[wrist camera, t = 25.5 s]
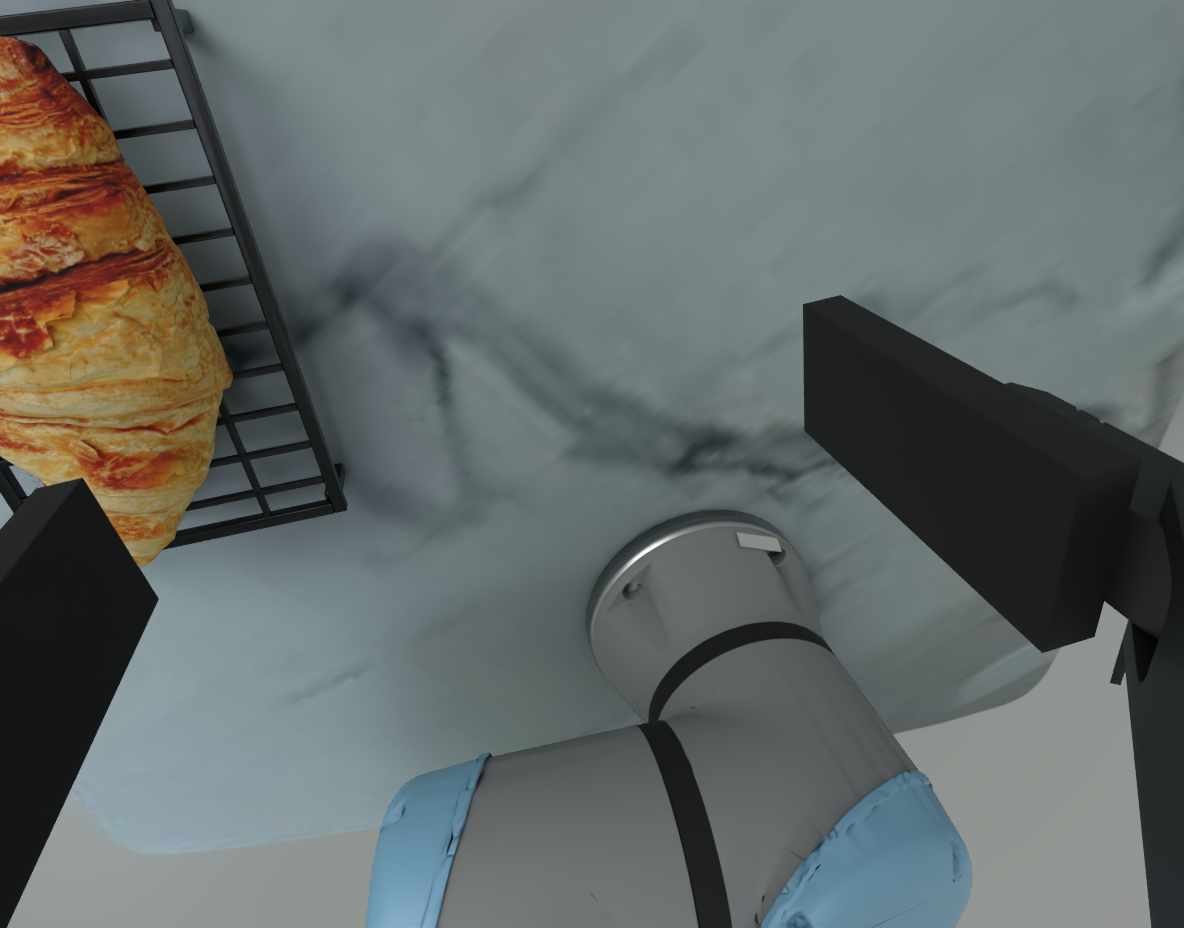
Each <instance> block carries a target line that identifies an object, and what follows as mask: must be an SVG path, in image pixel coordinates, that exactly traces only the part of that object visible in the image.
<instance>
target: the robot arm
mask: <svg viewBox="0 0 1184 928" xmlns="http://www.w3.org/2000/svg"><path fill="white" fill-rule="evenodd" d="M803 342H804V430H805V432H806V433H808V434H809V435H810V436H811V437H812V438H813V439H814V440H815V441H816V442H817V443H818V444H819V445H820V446H821V447H823V448H824V449H825V450H826V451H827V452H828V453H829V454H830V455H831V456H832V457H833V458H834V459H835V460H836V461H837V462H839V463H840V464H841V465H842V466H843V467H844V468H845V469H846V470H847V471H848V472H849V473H850V474H851V475H852V476H854V477H855V478H856V479H857V480H858V481H859V482H860V483H861V484H862V485H863V486H864V487H865V488H866V489H867V490H869V491H870V492H871V493H872V494H873V495H874V496H875V497H876V498H877V499H878V500H879V501H880V502H881V503H882V504H883V505H885V506H886V507H887V508H888V509H889V510H890V511H891V512H892V513H893V514H894V515H895V516H896V517H897V518H898V519H900V520H901V521H902V522H903V523H904V524H905V525H906V526H907V527H908V528H909V529H910V530H911V531H912V532H913V533H915V534H916V535H917V536H918V537H919V538H920V539H921V540H922V541H923V542H924V543H925V544H926V545H927V546H928V547H929V548H931V549H932V550H933V551H934V552H935V553H936V554H937V555H938V556H939V557H940V558H941V559H942V560H943V561H944V562H946V563H947V564H948V565H949V566H950V567H951V568H952V569H953V570H954V571H955V572H956V573H957V574H958V575H959V576H961V577H962V578H963V579H964V580H965V581H966V582H967V583H968V584H969V585H970V586H971V587H972V588H973V589H974V590H976V591H977V592H978V593H979V594H980V595H981V596H982V597H983V598H984V599H985V600H986V601H987V602H988V603H989V604H990V605H992V606H993V607H994V608H995V609H996V610H997V611H998V612H999V613H1000V614H1001V615H1002V616H1003V617H1004V618H1005V619H1007V620H1008V621H1009V622H1010V623H1011V624H1012V625H1013V626H1014V627H1015V628H1016V629H1017V630H1018V631H1019V632H1020V633H1022V634H1023V635H1024V636H1025V637H1026V638H1027V639H1028V640H1029V641H1030V642H1031V643H1032V644H1033V645H1034V646H1035V647H1036V648H1038V649H1039V650H1040V651H1041V652H1042V653H1044V652H1047V651H1050V650H1053V649H1057V648H1060V647H1063V646H1066V645H1070V644H1073V643H1076V642H1079V641H1083V640H1086V639H1089V638H1092V637H1095V633H1096V629H1097V625H1098V622H1099V618H1100V614H1101V611H1102V607H1103V603H1104V601H1106V602H1107V603H1108V604H1109V605H1110V606H1112V607H1113V608H1114V609H1116V610H1117V611H1118V612H1120V613H1121V614H1122V615H1123V616H1125V617H1126V618H1127V619H1129V620H1128V624H1127V627H1126V630H1125V634H1124V637H1123V640H1122V644H1121V647H1120V650H1119V654H1118V657H1117V660H1116V664H1115V667H1114V670H1113V674H1112V678H1111V681H1110V683H1113V684H1118V685H1121V682H1122V678H1123V676H1124V673H1126V680H1127V690H1128V700H1129V709H1130V720H1131V729H1132V740H1133V749H1134V760H1135V769H1136V779H1137V789H1138V799H1139V809H1140V819H1141V829H1142V838H1143V848H1144V857H1145V868H1146V878H1147V887H1148V898H1149V908H1150V917H1151V928H1184V463H1183V462H1181V461H1179V460H1177V459H1175V458H1173V457H1171V456H1169V455H1167V454H1166V453H1164V452H1162V451H1160V450H1158V449H1156V448H1154V447H1152V446H1150V445H1148V444H1146V443H1144V442H1142V441H1141V440H1139V439H1137V438H1135V437H1133V436H1131V435H1129V434H1127V433H1125V432H1123V431H1121V430H1119V429H1117V428H1115V427H1114V426H1112V425H1110V424H1108V423H1106V422H1105V423H1100V421H1099V419H1098V418H1096V417H1094V416H1092V415H1090V414H1089V413H1087V412H1085V411H1083V410H1079V411H1077V410H1076V407H1075V406H1073V405H1071V404H1069V403H1067V402H1065V401H1064V400H1062V399H1060V398H1058V397H1056V396H1054V395H1052V394H1050V393H1048V392H1045V391H1041V390H1038V389H1034V388H1030V387H1026V386H1023V385H1019V384H1015V383H1011V382H1010V383H1007V384H1003V383H1001V382H999V381H997V380H996V379H994V378H992V377H990V376H988V375H986V374H985V373H983V372H981V371H979V370H977V369H975V368H974V367H972V366H970V365H968V364H966V363H964V362H962V361H961V360H959V359H957V358H955V357H953V356H951V355H950V354H948V353H946V352H944V351H942V350H940V349H939V348H937V347H935V346H933V345H931V344H929V343H928V342H926V341H924V340H922V339H920V338H918V337H916V336H915V335H913V334H911V333H909V332H907V331H905V330H904V329H902V328H900V327H898V326H896V325H894V324H893V323H891V322H889V321H887V320H885V319H883V318H882V317H880V316H878V315H876V314H874V313H872V312H870V311H869V310H867V309H865V308H863V307H861V306H859V305H858V304H856V303H854V302H852V301H850V300H848V299H847V298H845V297H843V296H841V295H839V296H835V297H831V298H827V299H823V300H819V301H815V302H810V303H806V304H803ZM157 602H158V597H157V595H156V594H155V592H154V591H153V589H152V587H151V586H150V584H149V583H148V581H147V579H146V578H145V576H144V575H143V573H142V571H141V570H140V568H139V567H138V565H137V563H136V562H135V560H134V559H133V557H132V555H131V554H130V552H129V551H128V549H127V547H126V546H125V544H124V543H123V541H122V539H121V538H120V536H119V535H118V533H117V531H116V530H115V528H114V527H113V525H112V523H111V522H110V520H109V519H108V517H107V515H106V514H105V512H104V511H103V509H102V507H101V506H100V504H99V503H98V501H97V499H96V498H95V496H94V495H93V493H92V491H91V490H90V488H89V487H88V485H87V483H86V482H85V480H84V479H83V478H79V479H75V480H70V481H66V482H62V483H58V484H54V485H50V486H46V487H41V488H37V489H35V490H34V491H33V493H32V494H31V495H30V496H29V497H28V498H27V499H26V501H25V502H24V503H23V504H22V505H21V506H20V508H19V509H18V510H17V511H16V512H15V513H14V514H13V516H12V517H11V518H10V519H9V520H8V521H7V523H6V524H5V525H4V526H3V527H2V528H1V529H0V928H7V926H8V924H9V921H10V919H11V917H12V915H13V913H14V911H15V908H16V906H17V904H18V902H19V900H20V898H21V896H22V893H23V891H24V889H25V887H26V885H27V882H28V880H29V878H30V876H31V874H32V872H33V870H34V867H35V865H36V863H37V861H38V859H39V856H40V854H41V852H42V850H43V848H44V846H45V844H46V841H47V839H48V837H49V835H50V833H51V831H52V829H53V826H54V824H55V822H56V820H57V817H58V816H59V813H60V811H61V809H62V807H63V805H64V803H65V800H66V798H67V796H68V794H69V792H70V790H71V788H72V785H73V783H74V781H75V779H76V777H77V775H78V772H79V770H80V768H81V766H82V764H83V762H84V759H85V757H86V755H87V753H88V751H89V749H90V746H91V744H92V742H93V740H94V738H95V736H96V733H97V731H98V729H99V727H100V725H101V723H102V721H103V718H104V716H105V714H106V712H107V710H108V708H109V705H110V703H111V701H112V699H113V697H114V695H115V692H116V690H117V688H118V686H119V684H120V682H121V679H122V677H123V675H124V673H125V671H126V669H127V666H128V664H129V662H130V660H131V658H132V656H133V654H134V651H135V649H136V647H137V645H138V643H139V641H140V638H141V636H142V634H143V632H144V630H145V628H146V625H147V623H148V621H149V619H150V617H151V615H152V612H153V610H154V608H155V606H156V604H157ZM586 629H587V634H588V639H589V642H590V645H591V648H592V652H593V655H594V658H595V661H596V663H597V665H598V667H599V669H600V671H601V672H602V674H603V675H604V676H605V678H606V679H607V680H608V681H609V682H610V684H611V685H612V686H613V687H614V688H615V689H616V690H617V692H618V693H619V694H620V695H621V696H622V697H623V698H624V700H625V701H626V702H627V703H628V704H629V705H630V706H631V708H632V709H633V710H634V711H635V712H636V713H637V714H638V716H639V717H640V718H641V719H642V720H643V721H644V722H645V724H641V725H633V726H629V727H624V728H620V729H615V730H611V731H606V732H602V733H597V734H593V735H588V736H584V737H579V738H575V739H570V740H566V741H561V742H557V743H552V744H548V745H543V746H539V747H534V748H530V749H525V750H521V751H516V752H512V753H507V754H503V755H498V756H494V757H492V755H491V754H490V752H488V753H483V754H481V755H479V756H478V758H477V759H476V760H472V761H469V762H465V763H462V764H458V765H454V766H451V767H447V768H443V769H440V770H436V771H432V772H429V773H425V774H422V775H420V776H417V777H415V778H414V779H412V780H410V781H409V782H407V783H406V784H405V785H404V786H403V787H402V788H401V789H400V790H399V791H398V793H397V794H396V795H395V797H394V798H393V800H392V802H391V803H390V805H389V807H388V810H387V812H386V814H385V817H384V819H383V823H382V826H381V829H380V833H379V838H378V842H377V846H376V851H375V856H374V862H373V868H372V874H371V881H370V889H369V897H368V906H367V916H366V928H955V926H956V924H957V923H958V921H959V920H960V918H961V916H962V914H963V912H964V910H965V908H966V905H967V902H968V899H969V896H970V892H971V887H972V866H971V860H970V856H969V853H968V850H967V848H966V845H965V843H964V841H963V840H962V838H961V836H960V835H959V833H958V831H957V830H956V828H955V826H954V825H953V823H952V822H951V820H950V818H949V816H948V815H947V813H946V811H945V810H944V808H943V806H942V805H941V803H940V801H939V800H938V798H937V796H936V795H935V793H934V791H933V789H932V784H931V783H930V781H929V779H928V778H927V777H926V776H925V775H924V774H923V773H921V772H919V771H918V769H917V768H916V766H915V765H914V764H913V762H912V761H911V760H910V758H909V757H908V755H907V754H906V753H905V751H904V750H903V748H902V747H901V746H900V744H899V743H898V742H897V740H896V739H895V737H894V736H893V735H892V733H891V732H890V730H889V729H888V728H887V726H886V725H885V724H884V722H883V721H882V719H881V718H880V717H879V715H878V714H877V712H876V711H875V710H874V708H873V707H872V706H871V704H870V703H869V701H868V700H867V699H866V697H865V696H864V695H863V693H862V692H861V690H860V689H859V688H858V686H857V685H856V683H855V682H854V681H853V679H852V678H851V677H850V675H849V674H848V672H847V671H846V670H845V668H844V667H843V665H842V664H841V663H840V661H839V660H838V659H837V657H836V656H835V654H834V653H833V652H832V650H831V649H830V647H829V646H828V644H827V643H826V642H825V640H824V637H823V633H822V629H821V625H820V621H819V617H818V613H817V609H816V605H815V601H814V596H813V592H812V588H811V584H810V580H809V577H808V573H807V570H806V567H805V565H804V563H803V561H802V559H801V558H800V556H799V555H798V553H797V552H796V551H795V550H794V548H793V547H792V546H791V544H790V543H789V542H788V541H787V539H786V538H785V537H784V536H783V534H782V533H781V532H779V531H778V530H777V529H776V528H775V527H773V526H772V525H771V524H769V523H767V522H766V521H764V520H762V519H760V518H757V517H755V516H752V515H749V514H745V513H740V512H735V511H724V510H720V511H703V512H697V513H692V514H687V515H684V516H680V517H677V518H674V519H671V520H668V521H666V522H664V523H662V524H659V525H657V526H655V527H653V528H651V529H650V530H648V531H646V532H644V533H643V534H641V535H640V536H638V537H637V538H635V539H634V540H633V541H631V542H630V543H629V544H627V545H626V546H625V547H624V548H623V549H622V550H621V551H620V552H619V553H618V554H617V555H616V556H615V557H614V558H613V559H612V560H611V561H610V562H609V564H608V565H607V566H606V567H605V569H604V570H603V572H602V573H601V575H600V576H599V578H598V580H597V582H596V584H595V586H594V588H593V590H592V593H591V595H590V598H589V602H588V606H587V612H586Z"/></svg>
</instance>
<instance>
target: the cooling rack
mask: <svg viewBox="0 0 1184 928" xmlns="http://www.w3.org/2000/svg"><path fill="white" fill-rule="evenodd" d="M149 20H151V22H152V25H153V28H154V30H155V31H156V32H161V33H162V36H163V38H164V41H165V44H166V47H167V49H168V52H169V55H170V58H171V59H167V60H159V61H151V62H143V63H136V64H128V65H120V66H112V67H105V68H97V69H89V70H86V68H85V65H84V63H83V61H82V58H81V56H80V53H79V51H78V49H77V46H76V44H75V41H74V39H73V37H72V34H71V32H70V30H75V29H83V28H91V27H99V26H108V25H116V24H124V23H132V22H141V21H149ZM191 31H194V28H193V25H192V23H191V20H190V17H189V14H188V11H186V10H181V9H175V8H174V5H173V3H172V0H133V1H124V2H116V3H107V4H99V5H90V6H82V7H73V8H65V9H56V10H48V11H39V12H31V13H22V14H14V15H5V16H0V36H8V37H17V36H25V35H34V34H42V33H50V32H59V35H60V37H61V39H62V42H63V44H64V46H65V49H66V51H67V53H68V56H69V58H70V60H71V63H72V65H73V67H74V70H75V71H73V72H66V73H60V74H61V75H62V76H63V77H64V78H65V79H66V80H67V81H68V82H74V81H79V82H80V84H81V86H82V89H83V91H84V93H85V96H86V98H87V100H88V103H89V104H90V105H91V106H92V107H93V109H94V110H95V111H96V112H97V113H98V114H99V116H100V117H101V118H103V119H104V120H105V121H106V122H107V123H108V120H107V118H106V116H105V113H104V111H103V108H102V106H101V104H100V101H99V99H98V96H97V94H96V92H95V89H94V87H93V84H92V82H91V80H90V79H97V78H105V77H113V76H120V75H128V74H136V73H143V72H151V71H159V70H166V69H175V71H176V74H177V77H178V80H179V82H180V85H181V88H182V91H183V94H184V96H185V99H186V102H187V105H188V107H189V110H190V113H191V116H192V118H193V119H192V120H184V121H177V122H170V123H163V124H156V125H148V126H141V127H134V128H127V129H120V130H113V131H112V132H113V134H114V136H115V138H116V139H124V138H131V137H138V136H145V135H152V134H159V133H166V132H173V131H180V130H187V129H194V128H196V129H197V132H198V135H199V138H200V140H201V143H202V146H203V149H204V151H205V154H206V157H207V160H208V163H209V165H210V168H211V171H212V174H213V175H211V176H204V177H197V178H191V179H184V180H177V181H171V182H164V183H157V184H150V185H144V186H143V188H144V189H145V191H146V192H147V194H152V193H159V192H165V191H172V190H179V189H185V188H192V187H199V186H205V185H212V184H216V185H217V187H218V190H219V193H220V196H221V198H222V201H223V204H224V207H225V209H226V212H227V215H228V218H229V220H230V223H231V226H232V227H229V228H223V229H216V230H210V231H204V232H198V233H191V234H185V235H179V236H172V237H171V239H172V240H173V242H174V243H175V245H179V244H185V243H191V242H197V241H204V240H210V239H216V238H222V237H229V236H234V235H235V237H236V240H237V243H238V245H239V248H240V251H241V254H242V256H243V259H244V262H245V265H246V267H247V270H248V273H249V276H243V277H237V278H231V279H225V280H219V281H213V282H207V283H201V284H198V285H199V287H200V289H201V290H202V292H206V291H212V290H218V289H224V288H230V287H236V286H241V285H247V284H253V287H254V289H255V292H256V295H257V298H258V301H259V303H260V306H261V309H262V312H263V314H264V317H265V320H266V321H261V322H255V323H250V324H244V325H238V326H233V327H227V328H221V329H216V330H215V331H216V334H217V336H218V338H219V337H225V336H230V335H236V334H241V333H247V332H253V331H258V330H264V329H268V328H269V331H270V334H271V336H272V339H273V342H274V345H275V347H276V350H277V353H278V356H279V358H280V361H281V363H279V364H273V365H268V366H262V367H257V368H251V369H246V370H241V371H235V372H232V374H233V380H237V379H242V378H248V377H253V376H259V375H264V374H269V373H275V372H280V371H283V370H284V372H285V375H286V378H287V381H288V383H289V386H290V389H291V392H292V394H293V397H294V400H295V403H292V404H287V405H281V406H276V407H271V408H266V409H261V410H255V411H250V412H245V413H240V414H235V415H230V412H229V410H228V407H227V405H226V403H225V400H224V398H223V395H222V400H221V404H220V406H219V411H220V413H221V415H222V417H219V418H217V422H216V426H220V425H226V427H227V429H228V432H229V434H230V436H231V439H232V441H233V443H234V446H235V448H236V450H237V453H238V454H237V455H232V456H227V457H222V458H217V459H212V460H211V463H210V466H209V468H212V467H217V466H222V465H227V464H232V463H237V462H242V465H243V467H244V469H245V472H246V474H247V476H248V479H249V481H250V483H251V486H252V488H253V490H248V491H243V492H238V493H234V494H229V495H224V496H219V497H214V498H209V499H204V500H199V501H195V502H191V503H190V504H189V506H188V507H187V508H186V510H185V511H190V510H195V509H199V508H204V507H209V506H214V505H219V504H224V503H228V502H233V501H238V500H243V499H248V498H253V497H257V500H258V502H259V505H260V507H261V509H262V512H263V513H260V514H255V515H250V516H246V517H241V518H236V519H231V520H227V521H222V522H217V523H212V524H208V525H203V526H198V527H193V528H189V529H184V530H179V531H177V532H176V535H175V539H174V540H172V541H171V542H170V543H169V544H168V545H167V546H166V547H164V548H163V549H162V550H164V549H169V548H173V547H178V546H183V545H187V544H192V543H197V542H202V541H206V540H211V539H216V538H220V537H225V536H230V535H234V534H239V533H244V532H249V531H253V530H258V529H263V528H267V527H272V526H277V525H281V524H286V523H291V522H296V521H300V520H305V519H310V518H314V517H319V516H324V515H328V514H333V513H335V512H336V513H338V512H343V511H346V510H347V505H348V504H347V501H346V498H345V495H344V492H343V486H344V479H345V471H344V468H343V465H342V463H341V464H336V465H334V464H333V461H332V458H331V455H330V452H329V449H328V447H327V444H326V441H325V438H324V435H323V432H322V429H321V427H320V424H319V421H318V418H317V415H316V412H315V409H314V407H313V404H312V401H311V398H310V395H309V392H308V389H307V386H306V384H305V381H304V378H303V375H302V372H301V369H300V366H299V364H298V361H297V358H296V355H295V352H294V349H293V346H292V343H291V341H290V338H289V335H288V332H287V329H286V326H285V323H284V321H283V318H282V315H281V312H280V309H279V306H278V303H277V300H276V298H275V295H274V292H273V289H272V286H271V283H270V280H269V278H268V275H267V272H266V269H265V266H264V263H263V260H262V258H261V255H260V252H259V249H258V246H257V243H256V240H255V237H254V235H253V232H252V229H251V226H250V223H249V220H248V217H247V215H246V212H245V209H244V206H243V203H242V200H241V197H240V194H239V192H238V189H237V186H236V183H235V180H234V177H233V174H232V172H231V169H230V166H229V163H228V160H227V157H226V154H225V152H224V149H223V146H222V143H221V140H220V137H219V134H218V131H217V129H216V126H215V123H214V120H213V117H212V114H211V111H210V109H209V106H208V103H207V100H206V97H205V94H204V91H203V88H202V86H201V83H200V80H199V77H198V74H197V71H196V68H195V66H194V63H193V60H192V57H191V54H190V51H189V48H188V45H187V43H186V40H185V37H184V34H183V32H191ZM108 124H109V123H108ZM109 126H110V125H109ZM110 128H111V127H110ZM120 157H121V159H122V160H123V161H124V159H123V156H122V154H120ZM297 410H298V411H299V414H300V416H301V419H302V422H303V425H304V427H305V430H306V433H307V436H308V439H309V440H307V441H302V442H297V443H292V444H287V445H282V446H277V447H272V448H267V449H262V450H257V451H252V452H247V453H246V450H245V448H244V446H243V443H242V441H241V438H240V436H239V434H238V431H237V429H236V426H235V424H234V423H235V422H241V421H246V420H251V419H256V418H261V417H266V416H272V415H277V414H282V413H287V412H292V411H297ZM311 447H312V450H313V452H314V455H315V458H316V461H317V463H318V466H319V469H320V472H321V474H322V475H321V476H316V477H311V478H306V479H302V480H297V481H292V482H287V483H282V484H277V485H272V486H268V487H263V488H261V486H260V484H259V481H258V479H257V477H256V474H255V472H254V470H253V467H252V465H251V462H250V460H252V459H257V458H262V457H267V456H272V455H277V454H282V453H287V452H292V451H297V450H302V449H307V448H311ZM13 465H14V464H12V463H11V462H9V461H7V460H6V459H4V458H3V457H1V456H0V493H1V494H2V496H3V497H4V499H5V500H6V502H7V504H8V505H9V507H10V508H11V510H12V511H13V513H15V512H16V511H17V510H18V509H19V508H20V506H21V505H22V504H23V503H24V502H25V501H26V499H27V498H28V497H29V496H27V495H26V493H25V492H24V490H23V489H22V487H21V485H20V484H19V482H18V481H17V479H16V477H15V476H14V474H13V473H12V471H11V469H10V468H9V466H13ZM320 483H325V485H326V487H325V492H324V495H325V497H326V500H322V501H317V502H312V503H308V504H303V505H298V506H293V507H289V508H284V509H279V510H274V511H271V510H270V508H269V505H268V503H267V501H266V498H265V496H264V495H267V494H272V493H277V492H282V491H286V490H291V489H296V488H301V487H306V486H311V485H315V484H320Z"/></svg>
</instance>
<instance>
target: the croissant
mask: <svg viewBox="0 0 1184 928" xmlns="http://www.w3.org/2000/svg"><path fill="white" fill-rule="evenodd" d="M120 154H121V151H120V147H119V145H118V143H117V140H116V138H115V136H114V134H113V132H112V130H111V128H110V126H109V124H108V123H107V122H106V121H105V120H104V119H103V118H101V117H100V116H99V114H98V113H97V112H96V111H95V110H94V109H93V107H92V106H91V105H90V104H89V103H88V102H87V101H86V100H85V99H84V98H83V97H82V96H81V95H80V94H79V92H78V91H77V90H76V89H75V88H74V87H73V86H72V85H71V84H70V83H69V82H68V81H67V80H66V79H65V78H64V77H63V76H62V75H61V74H60V73H59V72H58V71H57V70H56V68H55V67H54V66H53V64H52V63H51V62H50V60H49V59H48V57H47V56H46V55H45V54H44V52H43V51H42V50H41V49H40V48H39V47H38V46H36V45H35V44H33V43H29V42H25V41H22V40H18V39H17V37H8V36H0V456H1V457H3V458H4V459H6V460H7V461H9V462H11V463H12V464H14V465H16V466H17V467H19V468H21V469H23V470H25V471H27V472H29V473H31V474H32V475H34V476H36V477H38V478H39V479H40V480H41V481H42V482H43V483H44V485H45V487H46V486H50V485H54V484H58V483H62V482H66V481H70V480H75V479H79V478H83V479H84V480H85V482H86V483H87V485H88V487H89V488H90V490H91V491H92V493H93V495H94V496H95V498H96V499H97V501H98V503H99V504H100V506H101V507H102V509H103V511H104V512H105V514H106V515H107V517H108V519H109V520H110V522H111V523H112V525H113V527H114V528H115V530H116V531H117V533H118V535H119V536H120V538H121V539H122V541H123V543H124V544H125V546H126V547H127V549H128V551H129V552H130V554H131V555H132V557H133V559H134V560H135V562H136V563H137V565H138V567H142V566H145V565H147V564H149V563H150V562H151V561H153V560H154V558H155V557H156V556H157V555H158V554H159V552H160V551H161V550H162V549H163V548H164V547H166V546H167V545H168V544H169V543H170V542H171V541H172V540H174V539H175V535H176V532H177V529H178V526H179V524H180V522H181V520H182V517H183V515H184V513H185V510H186V508H187V507H188V506H189V504H190V503H191V501H192V500H193V498H194V497H195V493H196V490H197V489H198V488H199V487H200V486H201V485H202V484H203V482H204V480H205V479H206V477H207V475H208V470H209V466H210V463H211V460H212V458H213V455H214V449H215V427H216V422H217V418H218V415H219V406H220V404H221V400H222V395H223V390H224V389H226V388H229V387H230V385H231V383H232V380H233V374H232V372H231V369H230V367H229V365H228V362H227V360H226V357H225V353H224V350H223V347H222V345H221V342H220V340H219V338H218V336H217V334H216V331H215V329H214V327H213V326H212V325H211V324H210V323H209V322H208V320H209V313H208V309H207V304H206V301H205V298H204V295H203V292H202V290H201V289H200V287H199V285H198V283H197V282H196V280H195V278H194V276H193V273H192V271H191V269H190V267H189V265H188V263H187V261H186V260H185V258H184V256H183V254H182V252H181V250H180V249H179V248H178V247H177V246H176V245H175V243H174V242H173V240H172V239H171V237H170V236H169V234H168V233H167V230H166V227H165V224H164V222H163V219H162V217H161V215H160V214H159V212H158V211H157V209H156V208H155V207H154V205H153V203H152V201H151V200H150V198H149V196H148V194H147V192H146V191H145V189H144V188H143V186H142V185H141V183H140V182H139V180H138V179H137V177H136V176H135V174H134V173H133V171H132V170H131V169H130V168H129V166H128V165H127V164H126V163H125V161H123V160H122V159H121V157H120Z"/></svg>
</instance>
